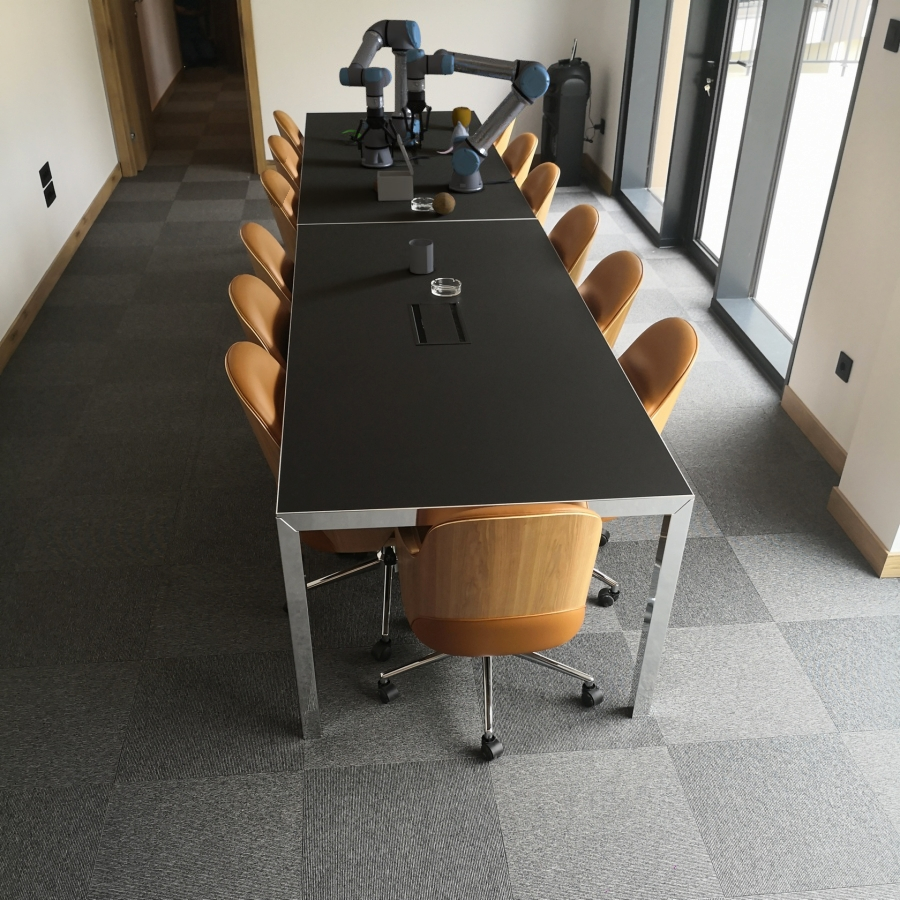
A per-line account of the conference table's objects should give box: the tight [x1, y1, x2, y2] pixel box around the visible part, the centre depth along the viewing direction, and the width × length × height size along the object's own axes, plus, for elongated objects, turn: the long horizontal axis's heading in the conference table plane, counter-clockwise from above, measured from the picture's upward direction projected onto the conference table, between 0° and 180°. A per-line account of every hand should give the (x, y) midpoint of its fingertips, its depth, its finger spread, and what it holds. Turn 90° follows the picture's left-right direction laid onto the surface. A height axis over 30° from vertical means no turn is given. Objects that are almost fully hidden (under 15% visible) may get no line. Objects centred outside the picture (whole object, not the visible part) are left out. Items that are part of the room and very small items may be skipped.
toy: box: [437, 121, 470, 155], centre depth 440 cm, size 9×24×15 cm, turn 137°
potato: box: [431, 192, 456, 216], centre depth 360 cm, size 10×14×8 cm
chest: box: [376, 169, 414, 202], centre depth 380 cm, size 15×10×10 cm, turn 94°
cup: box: [408, 237, 434, 275], centre depth 305 cm, size 8×8×10 cm
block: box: [372, 179, 378, 193], centre depth 391 cm, size 4×4×4 cm
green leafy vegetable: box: [340, 129, 365, 146], centre depth 465 cm, size 6×13×30 cm
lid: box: [397, 132, 420, 176], centre depth 373 cm, size 16×10×9 cm
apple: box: [451, 105, 472, 129], centre depth 487 cm, size 11×11×13 cm
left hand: (377, 157), depth 384 cm, fingers open, 13 cm apart
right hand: (417, 148), depth 372 cm, fingers closed on lid, 2 cm apart
